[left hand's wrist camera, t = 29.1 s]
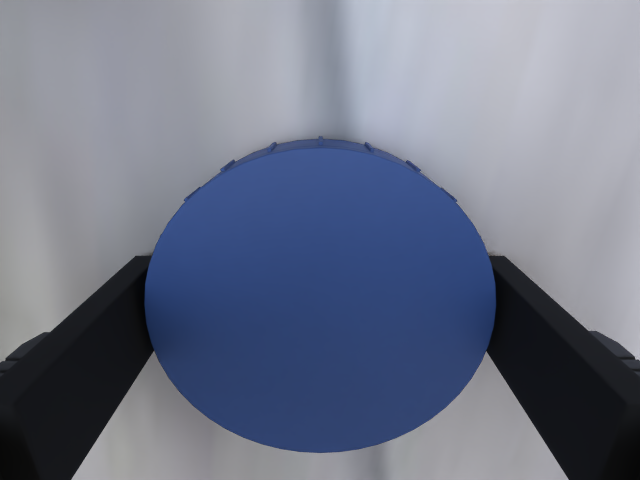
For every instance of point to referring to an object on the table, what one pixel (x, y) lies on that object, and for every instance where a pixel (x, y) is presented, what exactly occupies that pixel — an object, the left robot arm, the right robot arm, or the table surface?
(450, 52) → the table surface
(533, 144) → the table surface
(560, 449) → the left robot arm
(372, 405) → the lid
